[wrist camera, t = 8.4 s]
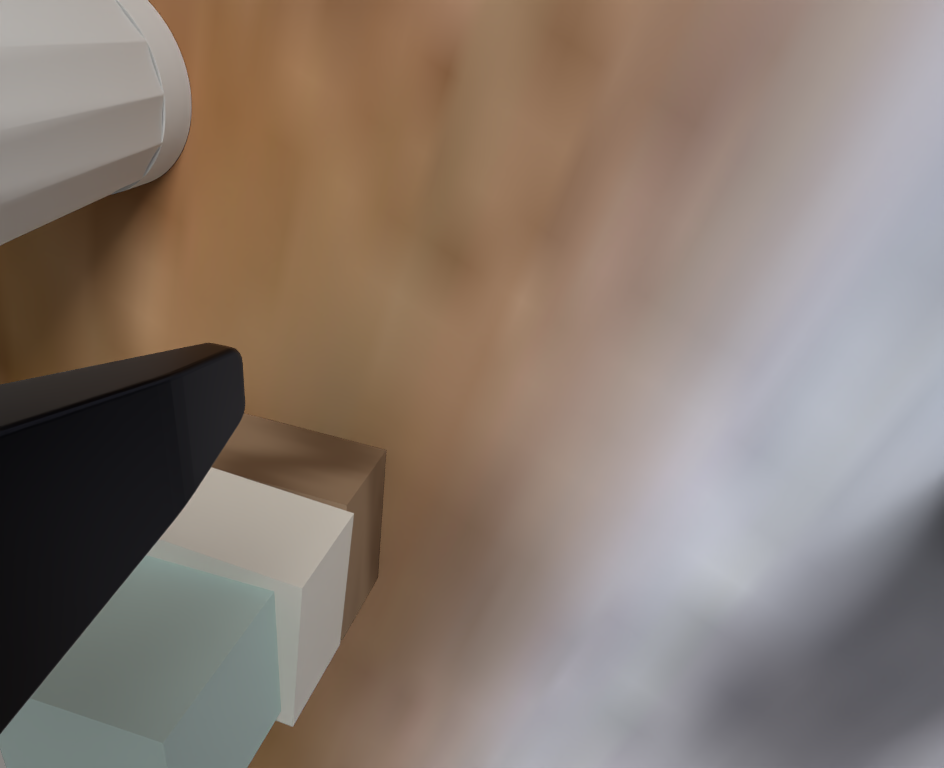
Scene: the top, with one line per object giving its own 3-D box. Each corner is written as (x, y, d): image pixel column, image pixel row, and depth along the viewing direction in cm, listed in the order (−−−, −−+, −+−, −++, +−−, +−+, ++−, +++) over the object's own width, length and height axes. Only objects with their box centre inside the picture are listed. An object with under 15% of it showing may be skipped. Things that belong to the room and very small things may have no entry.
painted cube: (274, 591, 21) (163, 743, 17) (281, 711, 24) (185, 870, 19) (119, 547, 22) (-23, 680, 18) (141, 666, 25) (20, 808, 20)
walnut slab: (388, 447, 27) (346, 505, 24) (379, 574, 30) (342, 640, 27) (235, 408, 28) (177, 458, 25) (241, 534, 31) (190, 593, 28)
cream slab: (353, 513, 24) (302, 588, 21) (339, 644, 27) (293, 726, 24) (184, 458, 25) (111, 522, 22) (188, 590, 28) (125, 663, 25)
